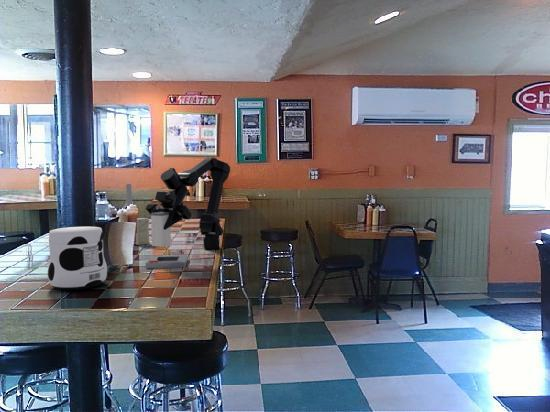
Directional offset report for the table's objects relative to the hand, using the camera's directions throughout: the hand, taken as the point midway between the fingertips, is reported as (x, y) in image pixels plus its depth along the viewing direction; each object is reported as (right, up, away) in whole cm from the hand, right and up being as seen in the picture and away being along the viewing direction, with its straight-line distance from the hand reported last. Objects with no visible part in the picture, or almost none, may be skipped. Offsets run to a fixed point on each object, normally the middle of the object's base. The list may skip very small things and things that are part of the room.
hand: (158, 228), depth 184 cm
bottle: (-29, -8, +62) cm, 69 cm away
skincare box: (-19, -10, +47) cm, 52 cm away
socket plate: (+3, -13, +1) cm, 14 cm away
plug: (+1, -6, +2) cm, 7 cm away
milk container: (-18, -17, -31) cm, 40 cm away
